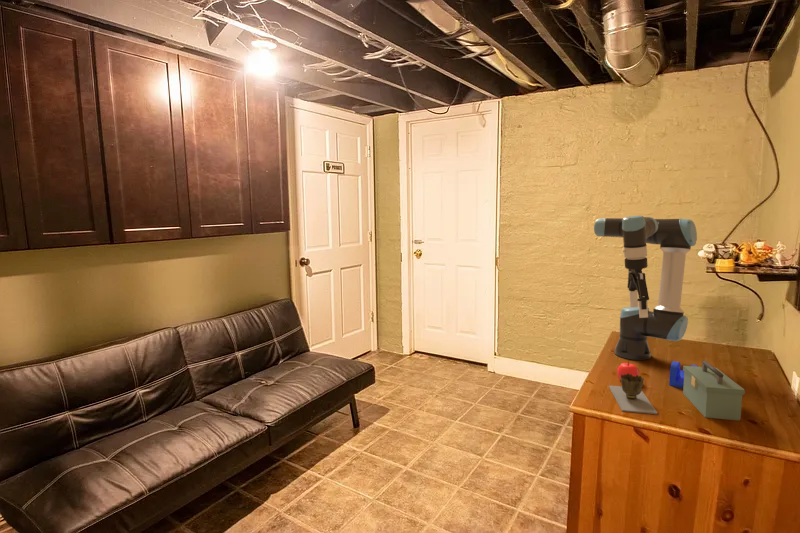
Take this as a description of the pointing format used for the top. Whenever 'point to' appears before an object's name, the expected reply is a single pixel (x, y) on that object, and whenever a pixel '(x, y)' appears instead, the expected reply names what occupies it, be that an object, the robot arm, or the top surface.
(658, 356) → the top surface
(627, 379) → the cup
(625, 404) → the rubber mat
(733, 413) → the toolbox
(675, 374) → the bracket
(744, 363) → the top surface
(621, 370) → the apple
